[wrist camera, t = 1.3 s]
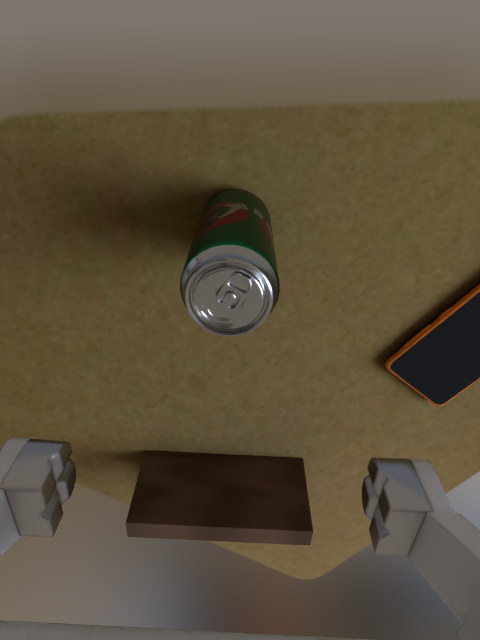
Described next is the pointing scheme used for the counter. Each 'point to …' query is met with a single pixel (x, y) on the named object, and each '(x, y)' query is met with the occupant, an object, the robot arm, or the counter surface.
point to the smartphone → (443, 353)
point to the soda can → (231, 265)
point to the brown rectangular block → (221, 499)
